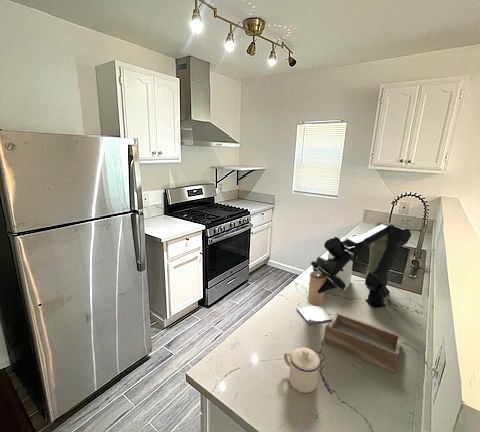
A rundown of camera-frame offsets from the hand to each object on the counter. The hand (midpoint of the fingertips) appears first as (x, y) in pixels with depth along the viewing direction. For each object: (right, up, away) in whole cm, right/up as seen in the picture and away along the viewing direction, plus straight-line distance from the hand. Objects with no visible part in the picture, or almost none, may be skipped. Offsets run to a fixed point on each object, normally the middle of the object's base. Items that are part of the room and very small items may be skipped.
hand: (313, 288), depth 113 cm
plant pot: (+10, -8, +23) cm, 27 cm away
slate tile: (+1, -13, +4) cm, 13 cm away
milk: (+22, -6, +32) cm, 40 cm away
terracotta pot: (+1, -6, +3) cm, 7 cm away
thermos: (+41, -7, +30) cm, 52 cm away
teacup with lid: (-13, -21, -29) cm, 38 cm away
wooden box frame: (+15, -17, -13) cm, 26 cm away
